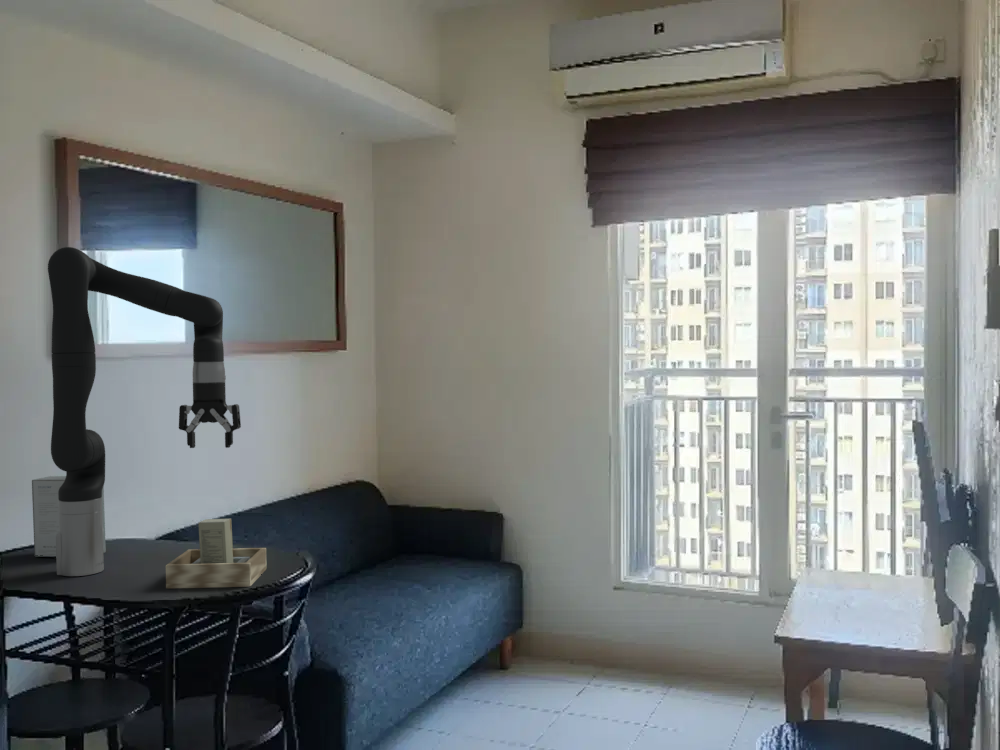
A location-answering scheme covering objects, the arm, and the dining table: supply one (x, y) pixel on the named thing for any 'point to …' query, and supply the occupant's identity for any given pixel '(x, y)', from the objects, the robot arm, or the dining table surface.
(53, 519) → the hard drive box
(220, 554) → the skincare box
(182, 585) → the walled box
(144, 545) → the dining table surface
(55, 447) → the robot arm
